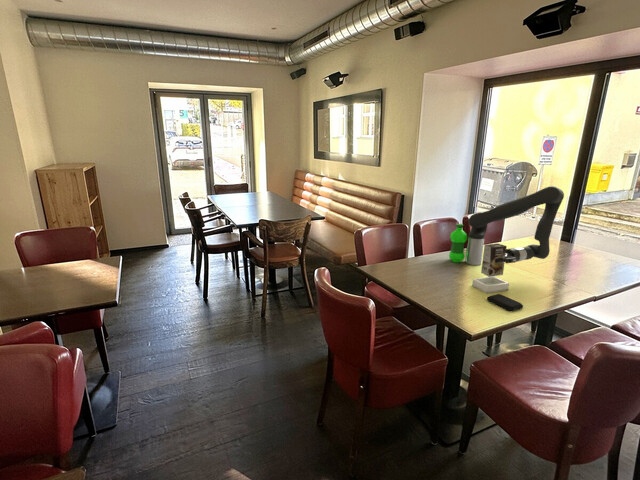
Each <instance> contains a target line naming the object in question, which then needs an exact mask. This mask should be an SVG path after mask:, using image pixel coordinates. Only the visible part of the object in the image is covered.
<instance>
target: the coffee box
mask: <svg viewBox="0 0 640 480" xmlns="http://www.w3.org/2000/svg"><path fill="white" fill-rule="evenodd" d="M506 249H508V248H507V245H505V244H501V243H490V244H484V246H483V254H482V262H481V271H480V273H481V274H483V275H484V276H485V277H491V276H494V277H497V276H503V275H504V270H505V264H506V263H505V262H498V263H496V262H495V259H496V258H502V257H505V255H506Z"/></svg>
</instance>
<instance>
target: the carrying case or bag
mask: <svg viewBox="0 0 640 480" xmlns="http://www.w3.org/2000/svg"><path fill="white" fill-rule="evenodd" d="M486 301H487V302H488V303H491V304H493V305H495V306H497V307H499V308H501V309H503V310H506V311H507V312H510V311H512V312H515V311H518V310H521V309H523V308H524V305H523V303H521V302H519V301H517V300H515V299H514V298H511V297H508V296H506V295H504V294H501V293H497V294H493V295H489V296H488V297H486Z"/></svg>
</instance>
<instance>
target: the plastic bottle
mask: <svg viewBox="0 0 640 480" xmlns="http://www.w3.org/2000/svg"><path fill="white" fill-rule="evenodd" d="M455 226H456V229H455V230H454V231H452V232H451V233H450V240H451V247H450V252H449V255H448V256H449V259H450V261H452V262H453V263H461V262H462V261H463V260H465V257H466V255H465V252H464V251H465V243H466V242H467V241H468V235H467V233H466V232H465V231H464V230H463V228H464V223H463V224H462V223H456V225H455Z"/></svg>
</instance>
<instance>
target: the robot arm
mask: <svg viewBox="0 0 640 480" xmlns="http://www.w3.org/2000/svg"><path fill="white" fill-rule="evenodd" d="M564 198H565V193H564V191H563V190H562V189H560V188H559V187H557V186H555V185H554V186H553V185H551V186H547V187H544V188H542V189H540V190H538V191H535V192H534V193H530V194H527V195H525V196H522V197H519V198H516V199H513V200H510V201H506V202H504V203H502V204H500V205H497V206H495V207H493V208H491V209H489V210H486V211H483V212H482V211H479V212H475V213H473V214H472V215H470V216H469V218H468V222H467V223H468V225H469V226H470V228H471V229H470V232H469V234H468V239H467V241H468V242H467V247H466V249H465V257H464V262H466V264H468V265H472V266H479V265H482V261H483V253H484V245H485V237H486V234H487V229H488V224H491V223H493V222H496V221H501V220H506V219H510V218H513V217H516V216H519V215H522V214H524V213H527V211H529V210H531V209H532V208H534V207H538V206H541V205H545V207H544V211H543V213H542V216H541V217H540V220H539V221H538V224H537V225H536V229H535V233H534V240H535V241H538V242H539V243H538V244H528V245H526V246H523V247H511V248H506V255H505V257H502V258H496V259H495V262H496V263H498V262H505V263H504V264H513V263H516V262H517V263H518V262H522V261H526V260H527V261H528V260H531V259H532V258H536V259H540V260H544V259H546V258H547V257H548V256H549V255H550V252H551V251H550V250H551V249H550V237H551V234H552V229H553V225H554V223H555V222H554V221H555V219H556V216H557V214H558V211H559V208H560V206H561V204H562V202H563V200H564Z"/></svg>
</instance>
